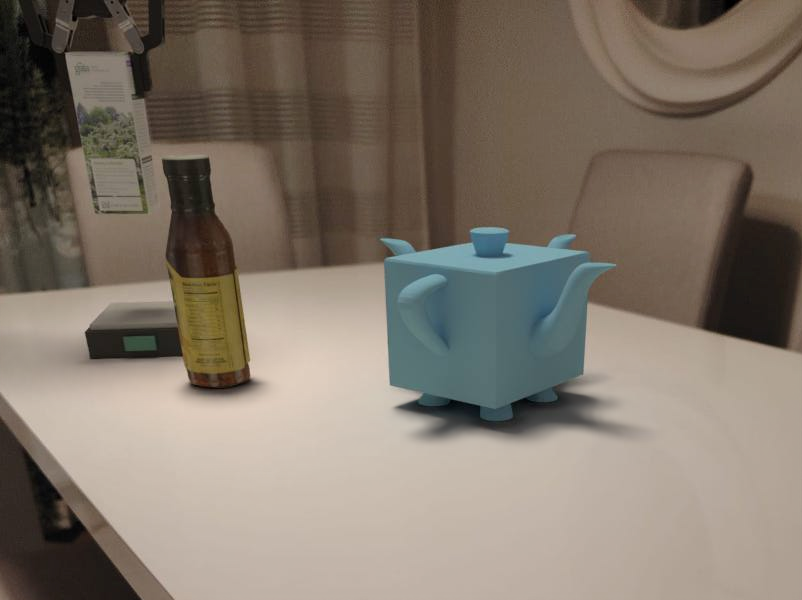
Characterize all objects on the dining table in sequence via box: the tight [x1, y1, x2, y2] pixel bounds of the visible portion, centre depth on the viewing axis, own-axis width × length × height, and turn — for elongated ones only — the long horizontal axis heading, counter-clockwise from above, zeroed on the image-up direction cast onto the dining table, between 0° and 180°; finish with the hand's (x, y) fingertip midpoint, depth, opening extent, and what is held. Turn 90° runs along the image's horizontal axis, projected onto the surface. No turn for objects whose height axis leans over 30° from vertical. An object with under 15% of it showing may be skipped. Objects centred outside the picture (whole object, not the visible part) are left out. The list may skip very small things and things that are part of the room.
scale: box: [84, 300, 183, 359], centre depth 105 cm, size 11×14×3 cm
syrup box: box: [65, 50, 161, 215], centre depth 96 cm, size 6×6×14 cm
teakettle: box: [379, 226, 618, 422], centre depth 84 cm, size 19×19×15 cm
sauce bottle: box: [161, 153, 251, 389], centre depth 87 cm, size 6×6×20 cm
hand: (109, 97), depth 94 cm, fingers closed on syrup box, 6 cm apart
